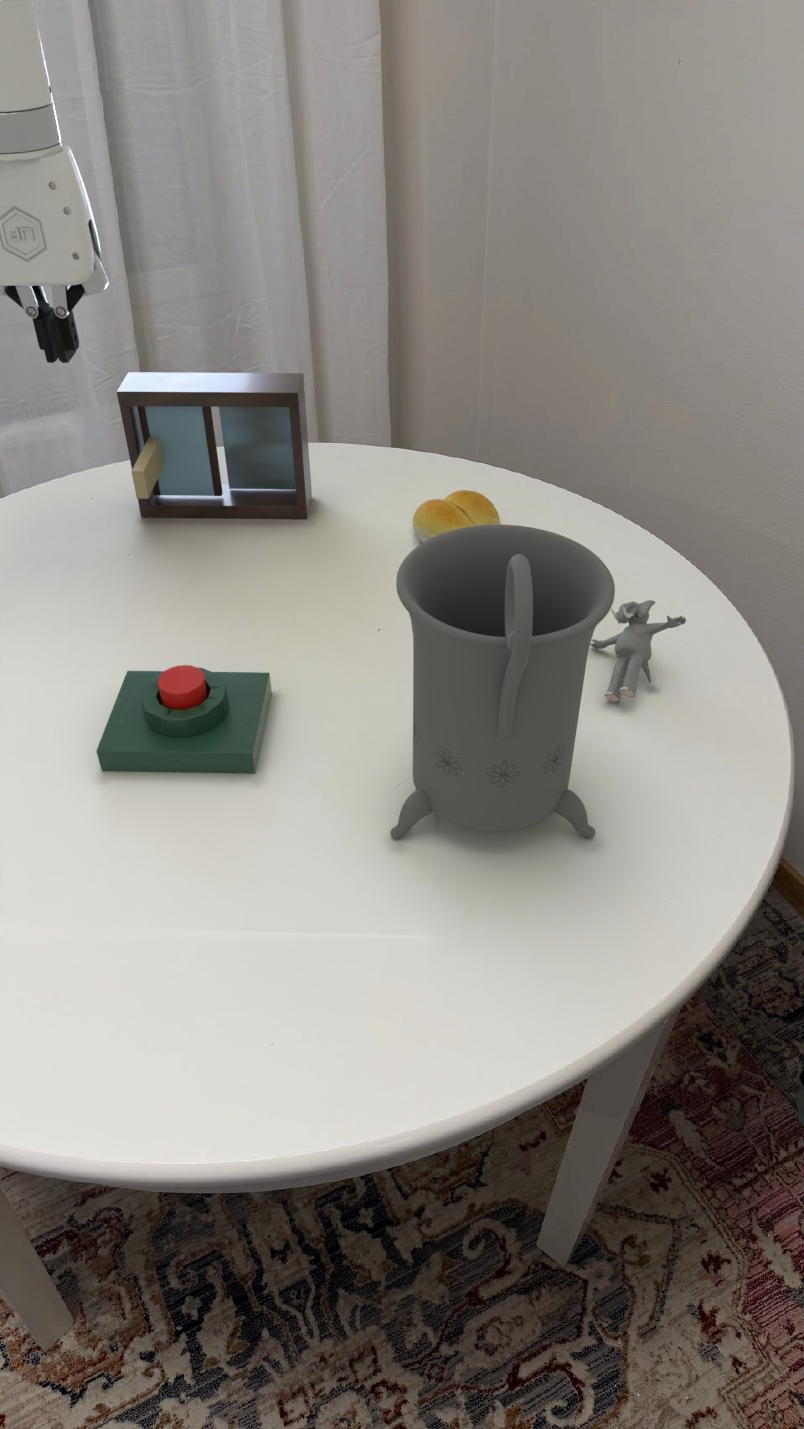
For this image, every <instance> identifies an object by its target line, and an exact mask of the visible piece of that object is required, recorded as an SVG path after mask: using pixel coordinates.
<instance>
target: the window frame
mask: <svg viewBox="0 0 804 1429" xmlns="http://www.w3.org/2000/svg"><path fill="white" fill-rule="evenodd" d="M116 395H117V400H118V402H117V403H118V406H119V410H120V415H121V420H122V426H123V431H124V436H125V441H126V447H127V451H128V456H129V462H130V467H131V470H132V469H133V467H134V465H135V463H136V461H137V459H138V457H139V455H140V453H141V451H142V450H143V448H144V440H143V435H142V430H141V424H140V419H139V413H138V408H137V406H186V407H211V408H212V407H213V408H215V407H216V408H218V412H219V419H220V420H219V421H220V428H221V436H222V443H223V451H224V458H225V465H226V466H225V467H226V473H227V474H226V475H227V481H228V483H221V485H222V492H223V493H222V496H185V495H153V490H152V492H151V494H150V496H149V499H137V501H138V508H139V513H140V517H141V518H154V519H155V518H157V519H158V518H160V519H161V518H164V519H165V518H167V519H168V518H169V519H171V518H172V519H266V520H267V519H274V520H275V519H277V520H280V519H281V520H286V519H287V520H308V519H309V514H310V508H311V504H312V499H313V491H312V490H313V489H312V476H311V464H310V462H311V461H310V450H309V449H310V448H309V435H308V434H309V433H308V422H307V420H308V419H307V408H306V392H305V379H304V373H302V372H162V371H161V372H159V371H158V372H157V371H156V372H150V371H149V372H145V371H144V372H143V371H142V372H141V371H140V372H138V371H136V372H135V371H134V372H133V371H131V372H129V371H128V373H127V374H126V376H125V377H124V379H123V381H122V382H121V384H120V385H119V387H118V389H117V390H116Z"/></svg>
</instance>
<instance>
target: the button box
mask: <svg viewBox="0 0 804 1429" xmlns="http://www.w3.org/2000/svg"><path fill="white" fill-rule="evenodd" d="M198 668H199V669H200V670H201V671H202V672H203V674H204V678H205V684H206V690H207V696H206V699H205V700H204V701H203V702H202V703H201V704H200V705H198V706H195V707H192V708H189V709H186V710H172V709H169V708H167V707H166V706H164V705H163V703H162V701H161V697H160V692H159V688H158V678H159V676H160V675H161V674H162V673H163V672H164V671H165V670H127V671H126V673H125V676H124V678H123V681H122V683H121V686H120V688H119V691H118V694H117V697H116V698H115V702H114V704H113V706H112V709H111V712H110V714H109V717H108V720H107V722H106V725H105V727H104V730H103V732H102V735H101V738H100V741H99V742H98V745H97V748H96V752H95V753H96V755H97V759H98V762H99V765H100V769H101V772H119V773H120V772H122V773H124V772H127V773H128V772H129V773H182V774H183V773H185V774H186V773H187V774H189V773H190V774H191V773H192V774H238V775H239V774H241V775H242V774H245V775H247V774H248V775H249V774H250V775H254V774H256V773H257V772H256V771H257V768H258V762H259V757H260V753H261V748H262V742H263V738H264V733H265V729H266V728H265V727H266V724H267V719H268V713H269V708H270V703H271V698H272V693H273V691H272V682H271V674H270V672H257V671H256V672H251V671H250V672H248V671H247V672H246V671H245V672H244V671H211V670H209V669H206V668H203V667H198Z"/></svg>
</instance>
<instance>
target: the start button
mask: <svg viewBox="0 0 804 1429" xmlns="http://www.w3.org/2000/svg"><path fill="white" fill-rule="evenodd" d="M199 668H200V667H197V666H194V665H189V664H187V665H186V664H181V665H176V666H172V667H169V668H167V669H166V670H163V671H164V672H163V673H162V674H161V675H160V676H159V678H158V688H159V692H160V697H161V701H162V703H163V705H164V706H166V707H167V708H169V709H172V710H186V709H189V708H192V707H195V706H198V705H200V704H201V703H202V702H203V701H204V700H205V699H206V696H207V690H206V684H205V678H204V674H203V672H202V671H201V670H200V669H199Z"/></svg>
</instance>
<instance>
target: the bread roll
mask: <svg viewBox="0 0 804 1429" xmlns="http://www.w3.org/2000/svg"><path fill="white" fill-rule="evenodd" d="M479 525H502V524H501V518H500V516H499V512H498V509H497V508H496V507H495V505H494V503H492V501H491V500H490V499H489V498H488V497H487V496H485V495H483V494H481V493H480V492H478V491H474V490H468V489H464V490H463V489H462V490H456V491H453V492H451V493H450V494H448V495H447V496H445V498H444V499H440V498H439V499H438V498H437V499H436V498H435V499H434V498H433V499H429V500H427V501H423V503H422V504H420V505H419V506H418V507H417V509H416V510H415V512H414V514H413V517H412V529H413V532H414V535H415V537H416V538H417V540H419V541H420V542H421V543H423V542H425V541H427V540H428V539H430V538H432V537H435V536H437V535H439V534H442V533H445V532H448V531H452V530H456V529H460V528H465V527H471V526H479Z"/></svg>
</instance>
